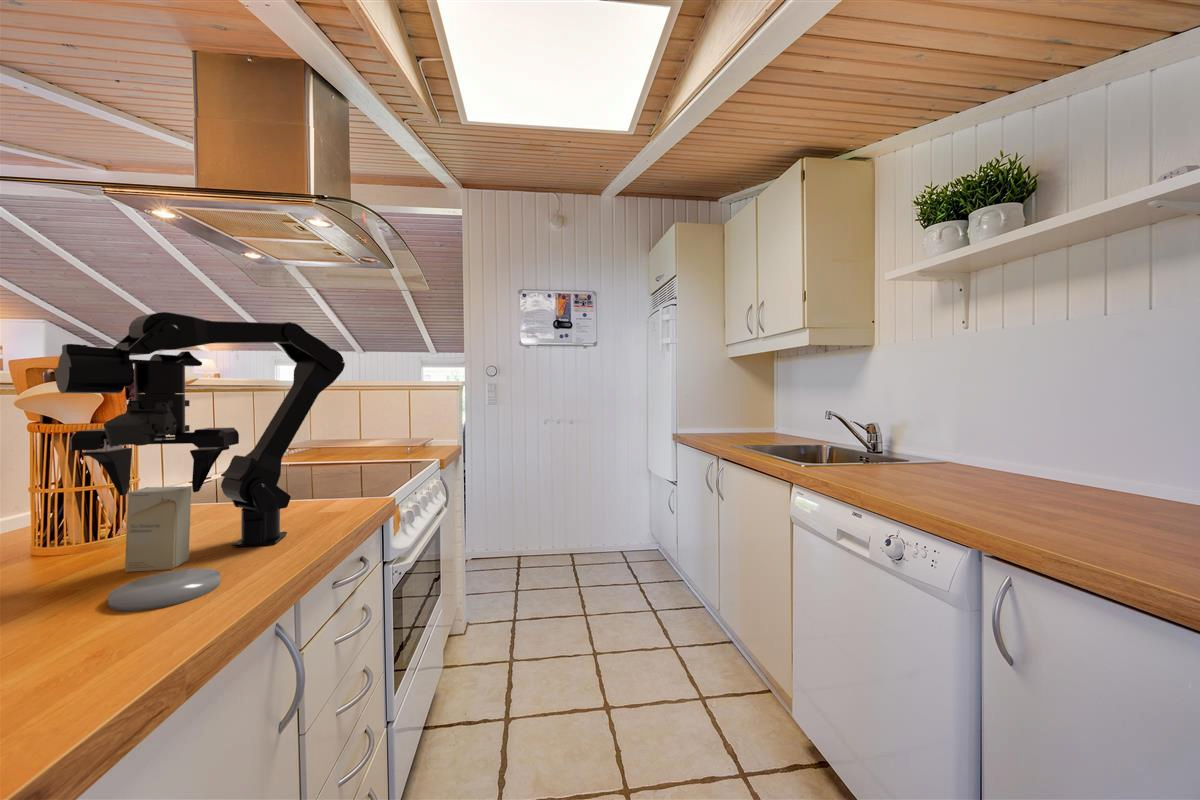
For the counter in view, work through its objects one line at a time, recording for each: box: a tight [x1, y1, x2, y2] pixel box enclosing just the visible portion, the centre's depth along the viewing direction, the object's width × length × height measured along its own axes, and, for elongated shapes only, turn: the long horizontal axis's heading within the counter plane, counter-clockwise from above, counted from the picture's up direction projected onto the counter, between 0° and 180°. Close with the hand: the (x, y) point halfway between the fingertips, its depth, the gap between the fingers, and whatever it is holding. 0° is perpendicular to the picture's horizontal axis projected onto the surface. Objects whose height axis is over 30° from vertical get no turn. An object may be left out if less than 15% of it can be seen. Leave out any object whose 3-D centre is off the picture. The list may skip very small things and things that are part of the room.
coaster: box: [107, 567, 221, 612], centre depth 62 cm, size 11×11×1 cm
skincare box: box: [124, 485, 192, 573], centre depth 71 cm, size 6×4×12 cm
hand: (160, 493), depth 71 cm, fingers open, 9 cm apart
